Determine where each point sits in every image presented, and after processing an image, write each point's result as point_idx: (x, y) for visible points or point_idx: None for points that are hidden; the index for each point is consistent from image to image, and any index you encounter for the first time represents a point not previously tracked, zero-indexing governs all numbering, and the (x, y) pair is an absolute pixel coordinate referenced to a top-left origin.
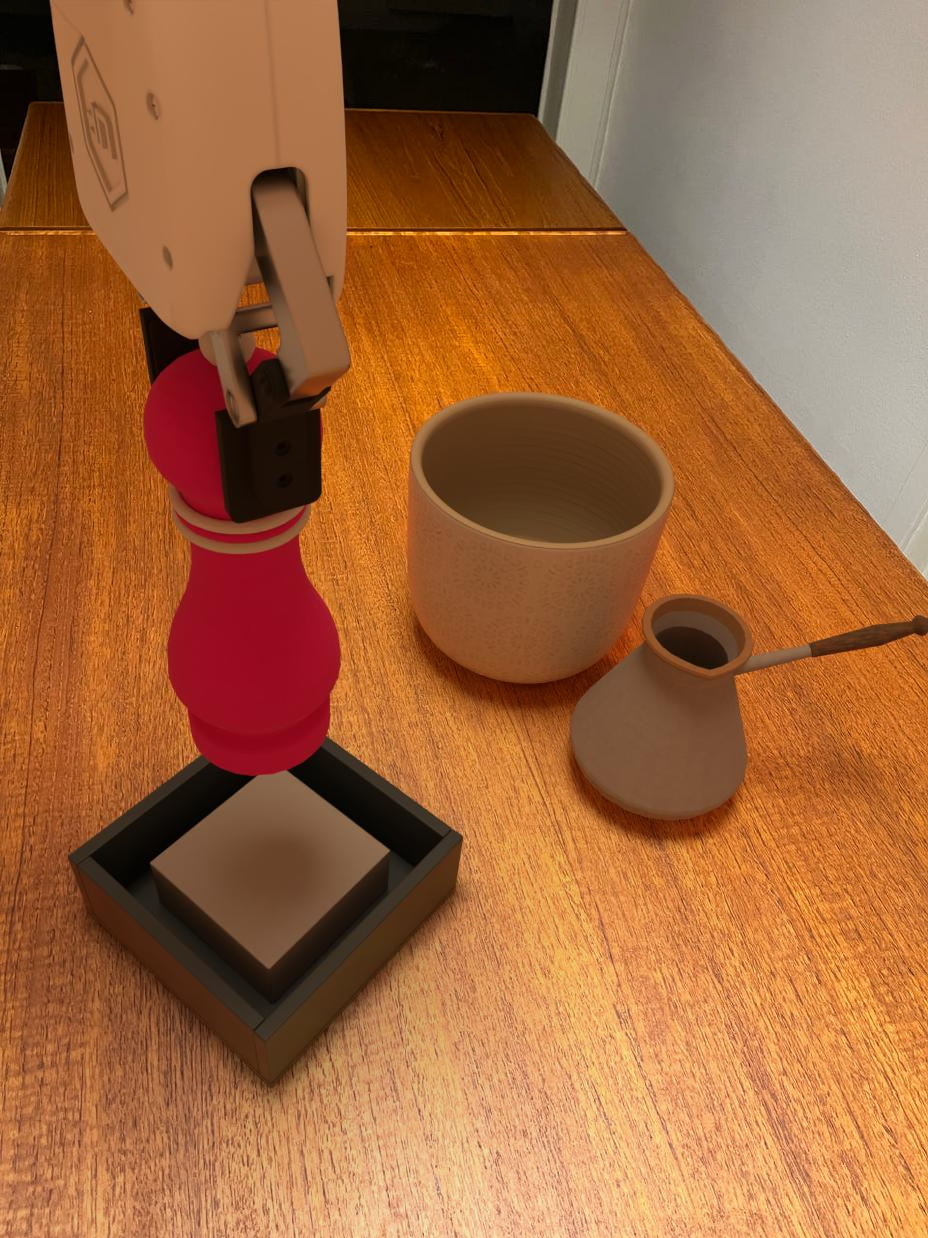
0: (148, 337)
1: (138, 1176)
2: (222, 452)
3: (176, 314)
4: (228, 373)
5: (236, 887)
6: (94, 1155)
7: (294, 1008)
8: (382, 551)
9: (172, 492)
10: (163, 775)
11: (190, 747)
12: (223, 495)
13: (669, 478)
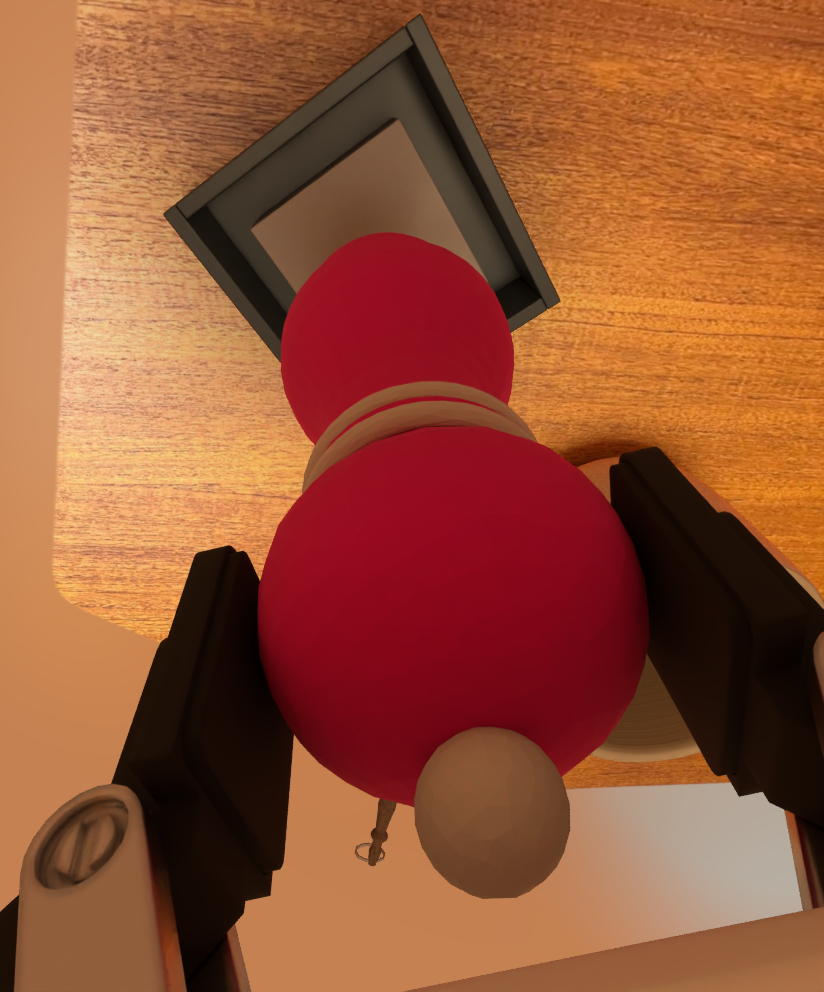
0: (719, 577)
1: (121, 54)
2: (164, 673)
3: None
4: (41, 962)
5: (346, 212)
6: (144, 8)
7: (192, 249)
8: (752, 438)
9: (432, 414)
10: (554, 143)
11: (580, 180)
12: (217, 571)
13: (604, 756)
